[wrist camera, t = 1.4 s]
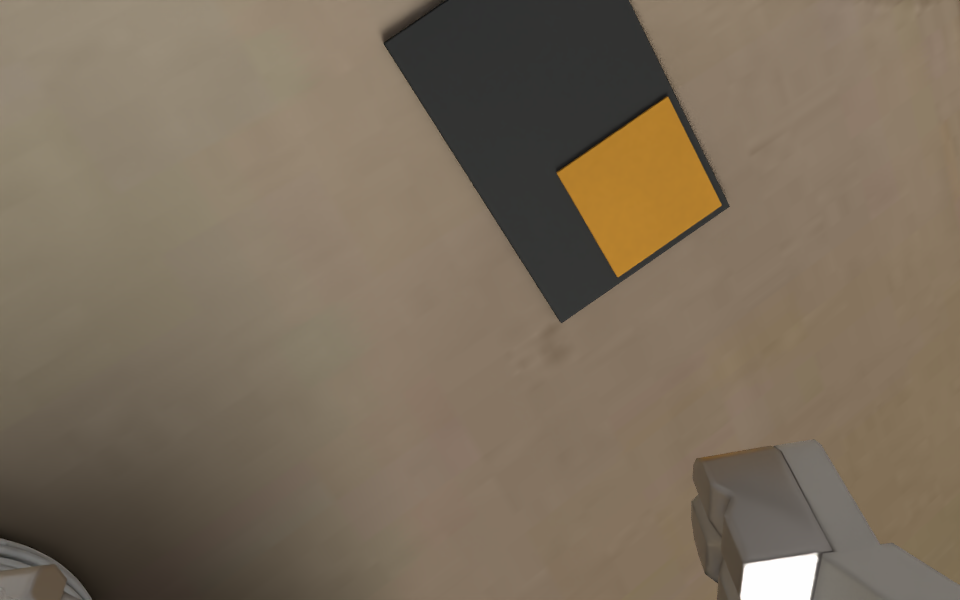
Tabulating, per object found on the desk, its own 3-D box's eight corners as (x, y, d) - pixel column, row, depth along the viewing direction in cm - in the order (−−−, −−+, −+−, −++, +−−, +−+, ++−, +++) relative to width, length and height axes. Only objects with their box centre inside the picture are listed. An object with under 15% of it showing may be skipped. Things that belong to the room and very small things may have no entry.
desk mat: (383, 43, 45) (384, 43, 45) (581, -92, 46) (585, -93, 45) (559, 321, 53) (562, 324, 53) (726, 205, 54) (731, 207, 53)
